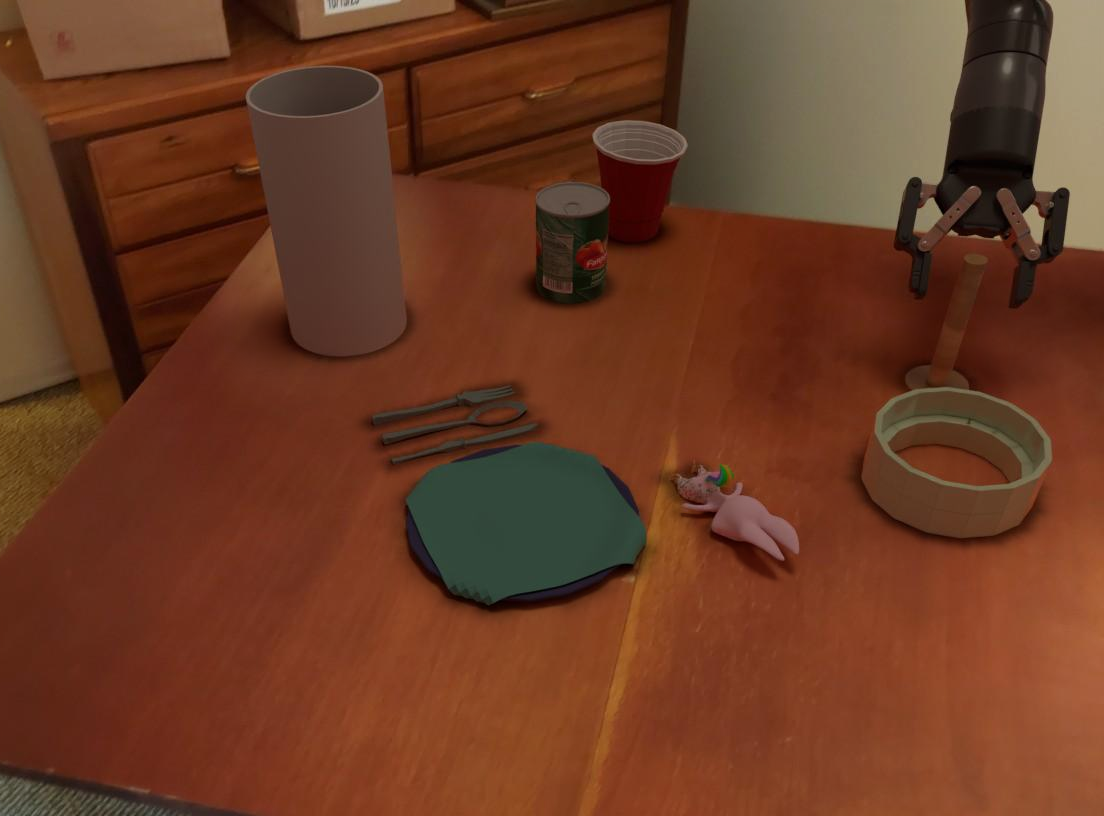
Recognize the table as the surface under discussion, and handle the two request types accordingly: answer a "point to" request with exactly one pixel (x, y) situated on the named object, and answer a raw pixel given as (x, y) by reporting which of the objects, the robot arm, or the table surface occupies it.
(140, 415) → the table surface
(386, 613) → the table surface
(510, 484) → the cutlery set
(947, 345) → the wooden peg on disc
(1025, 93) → the robot arm
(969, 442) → the ring
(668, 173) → the plastic cup
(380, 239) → the cylinder vase
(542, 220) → the canned tomato
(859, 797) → the table surface
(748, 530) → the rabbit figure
